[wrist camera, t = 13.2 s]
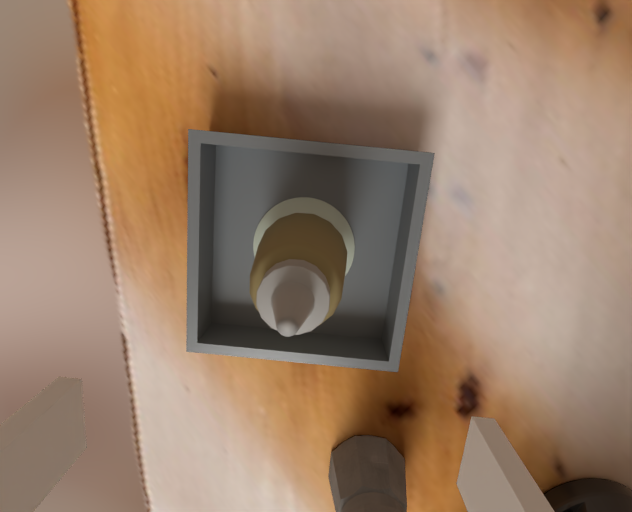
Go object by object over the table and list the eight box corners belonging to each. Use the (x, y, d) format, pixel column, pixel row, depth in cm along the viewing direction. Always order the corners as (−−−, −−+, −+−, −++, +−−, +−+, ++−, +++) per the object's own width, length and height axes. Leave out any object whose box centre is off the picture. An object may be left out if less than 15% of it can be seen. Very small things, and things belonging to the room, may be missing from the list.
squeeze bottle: (247, 233, 37) (180, 299, 20) (319, 191, 36) (315, 222, 19) (290, 300, 39) (263, 416, 21) (360, 262, 38) (391, 353, 20)
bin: (388, 344, 41) (398, 372, 36) (204, 326, 41) (186, 351, 36) (418, 153, 36) (434, 153, 31) (208, 133, 36) (188, 129, 31)
